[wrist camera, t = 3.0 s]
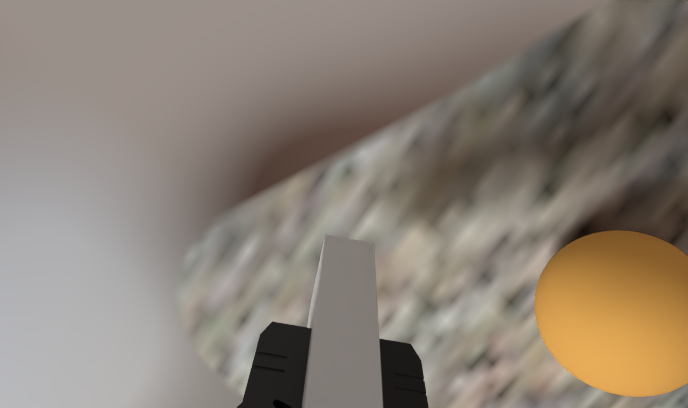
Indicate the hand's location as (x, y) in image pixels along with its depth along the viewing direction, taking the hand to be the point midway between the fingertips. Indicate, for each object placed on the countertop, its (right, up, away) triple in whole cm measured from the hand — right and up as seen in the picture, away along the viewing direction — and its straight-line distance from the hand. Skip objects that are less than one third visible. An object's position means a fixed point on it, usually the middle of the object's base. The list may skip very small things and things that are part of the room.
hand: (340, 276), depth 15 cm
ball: (+10, -1, +2) cm, 10 cm away
